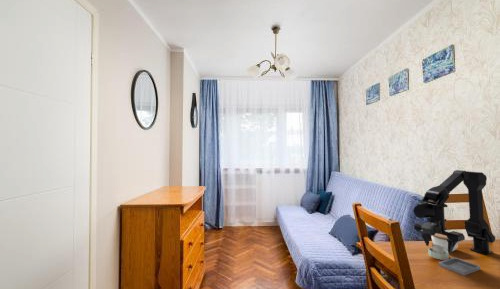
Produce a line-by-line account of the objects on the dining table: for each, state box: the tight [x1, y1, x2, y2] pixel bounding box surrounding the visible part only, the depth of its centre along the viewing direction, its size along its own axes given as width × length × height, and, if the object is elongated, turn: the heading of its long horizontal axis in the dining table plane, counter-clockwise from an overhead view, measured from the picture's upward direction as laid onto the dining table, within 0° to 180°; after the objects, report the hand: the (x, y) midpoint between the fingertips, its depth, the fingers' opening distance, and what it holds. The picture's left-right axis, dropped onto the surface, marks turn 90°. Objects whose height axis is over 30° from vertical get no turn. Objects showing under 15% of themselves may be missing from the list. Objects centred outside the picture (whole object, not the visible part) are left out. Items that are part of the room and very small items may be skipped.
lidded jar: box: [430, 233, 459, 252], centre depth 117 cm, size 11×11×9 cm
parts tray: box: [438, 256, 481, 277], centre depth 99 cm, size 12×9×2 cm
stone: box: [432, 244, 444, 254], centre depth 109 cm, size 4×4×4 cm
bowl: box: [427, 246, 450, 261], centre depth 109 cm, size 8×8×3 cm
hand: (438, 249), depth 109 cm, fingers open, 9 cm apart
